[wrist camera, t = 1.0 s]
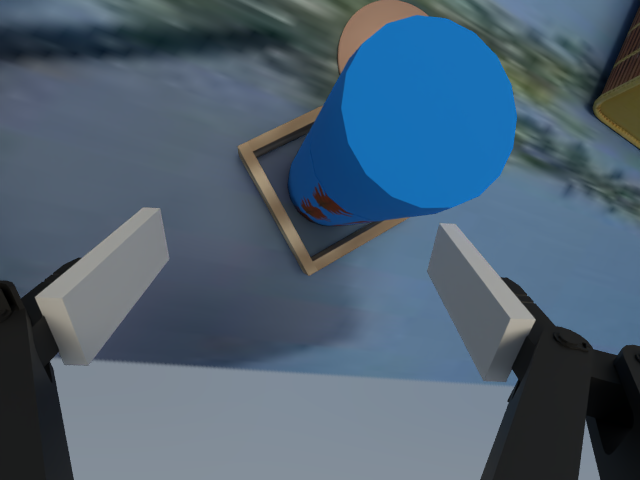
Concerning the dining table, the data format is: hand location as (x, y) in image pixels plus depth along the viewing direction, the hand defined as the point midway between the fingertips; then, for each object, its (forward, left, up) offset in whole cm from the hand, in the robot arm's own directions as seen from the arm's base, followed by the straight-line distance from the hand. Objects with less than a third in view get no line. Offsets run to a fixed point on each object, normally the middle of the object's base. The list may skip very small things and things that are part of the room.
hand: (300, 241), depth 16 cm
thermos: (-3, +10, -26) cm, 28 cm away
